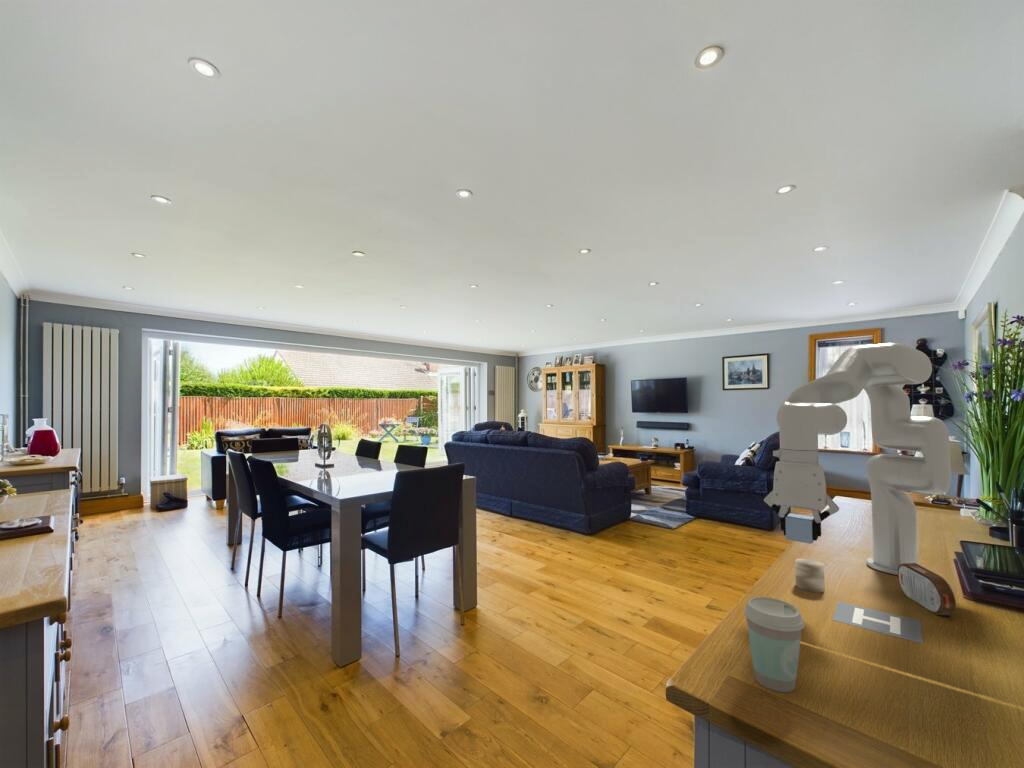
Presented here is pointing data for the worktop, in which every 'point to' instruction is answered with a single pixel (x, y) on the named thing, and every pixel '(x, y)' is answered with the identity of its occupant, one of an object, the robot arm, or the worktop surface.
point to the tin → (926, 589)
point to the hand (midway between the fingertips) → (800, 535)
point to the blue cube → (799, 528)
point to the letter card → (879, 621)
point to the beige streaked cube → (809, 575)
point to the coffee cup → (774, 641)
